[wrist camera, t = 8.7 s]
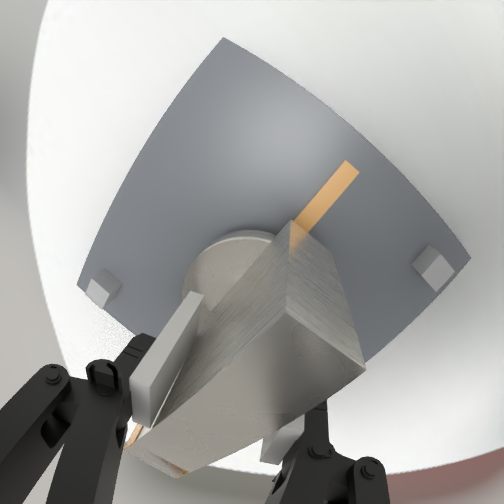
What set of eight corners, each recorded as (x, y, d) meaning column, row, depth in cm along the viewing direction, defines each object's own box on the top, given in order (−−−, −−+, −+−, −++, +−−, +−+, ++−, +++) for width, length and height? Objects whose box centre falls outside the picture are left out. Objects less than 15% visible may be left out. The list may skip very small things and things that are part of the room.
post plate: (464, 252, 19) (483, 267, 16) (277, 416, 27) (274, 439, 24) (227, 42, 16) (216, 26, 13) (83, 279, 25) (63, 294, 22)
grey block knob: (255, 182, 16) (190, 239, 6) (357, 267, 17) (415, 404, 7) (162, 306, 20) (78, 417, 10) (249, 368, 21) (218, 497, 11)
